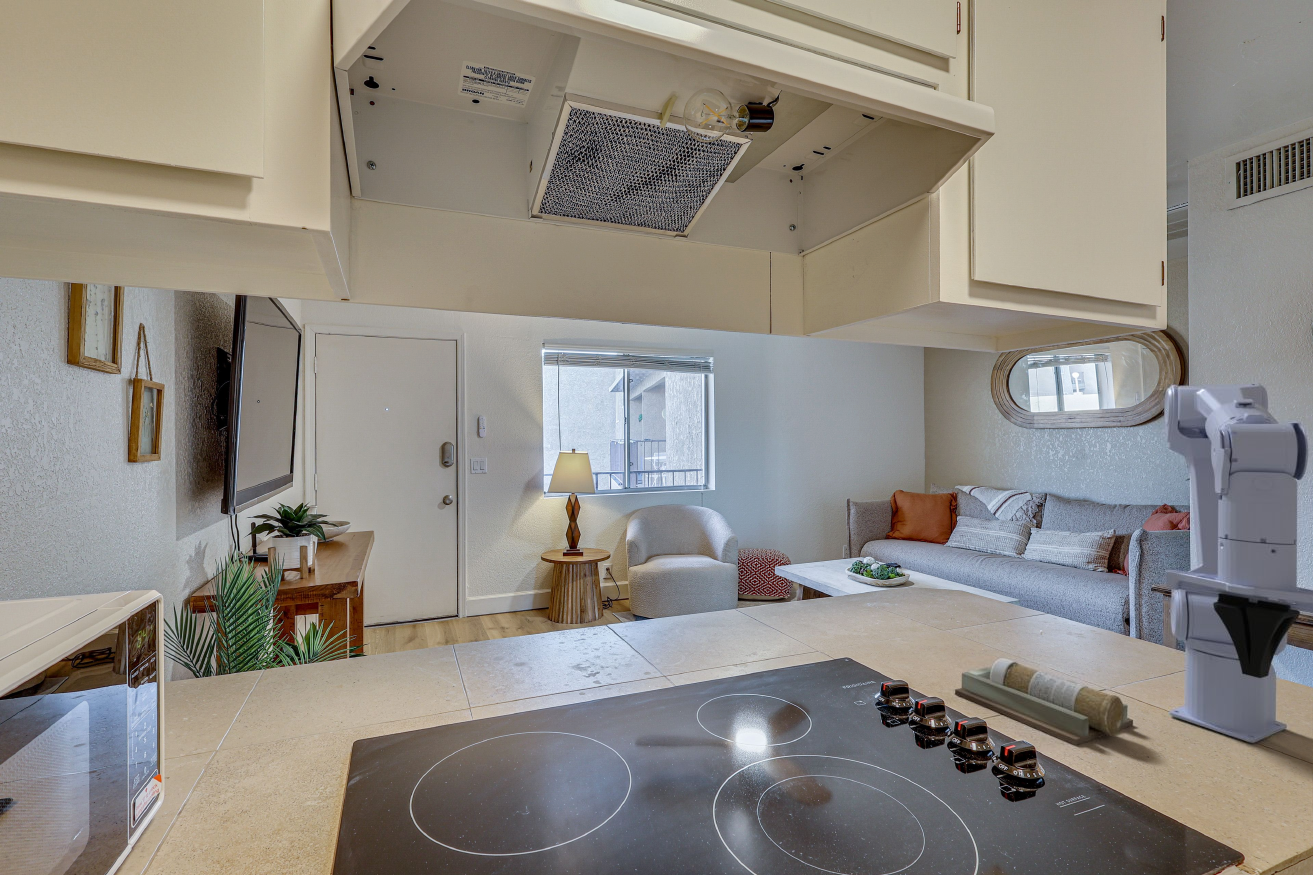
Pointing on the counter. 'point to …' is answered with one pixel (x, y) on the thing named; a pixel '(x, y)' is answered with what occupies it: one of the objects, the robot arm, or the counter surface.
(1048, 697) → the sprinkles bottle
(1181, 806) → the counter surface
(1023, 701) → the bottle rest
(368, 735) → the counter surface
